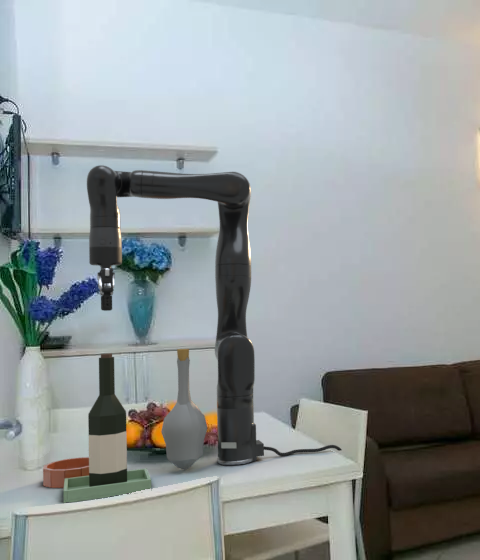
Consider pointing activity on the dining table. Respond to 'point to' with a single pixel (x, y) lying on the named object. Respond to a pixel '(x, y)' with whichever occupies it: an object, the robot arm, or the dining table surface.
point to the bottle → (184, 422)
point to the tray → (105, 486)
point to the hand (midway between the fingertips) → (106, 310)
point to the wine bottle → (107, 431)
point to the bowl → (64, 471)
